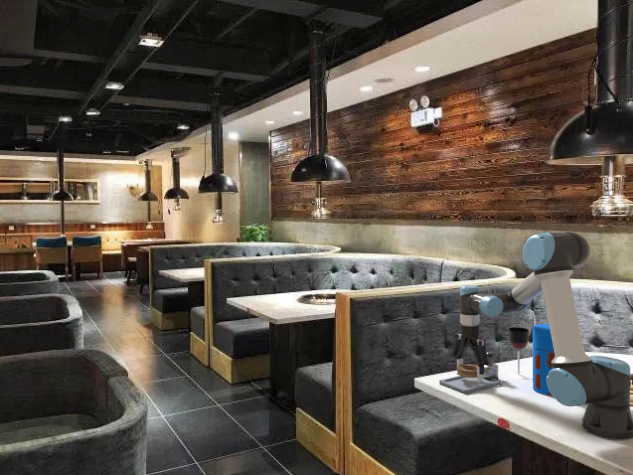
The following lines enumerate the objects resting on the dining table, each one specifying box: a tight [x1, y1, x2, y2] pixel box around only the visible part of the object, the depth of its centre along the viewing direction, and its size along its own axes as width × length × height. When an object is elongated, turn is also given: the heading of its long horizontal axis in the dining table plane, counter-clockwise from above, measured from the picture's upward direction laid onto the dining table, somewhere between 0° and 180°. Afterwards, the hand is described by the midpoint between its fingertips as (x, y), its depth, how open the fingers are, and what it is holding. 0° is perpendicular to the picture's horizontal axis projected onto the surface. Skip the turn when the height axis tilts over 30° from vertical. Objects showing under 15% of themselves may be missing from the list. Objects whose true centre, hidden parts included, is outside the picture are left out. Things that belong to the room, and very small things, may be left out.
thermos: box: [532, 323, 555, 396], centre depth 203 cm, size 11×11×25 cm
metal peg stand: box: [483, 351, 500, 381], centre depth 218 cm, size 7×7×11 cm
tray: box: [438, 375, 502, 395], centre depth 213 cm, size 14×20×2 cm
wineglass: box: [508, 326, 530, 380], centre depth 221 cm, size 8×9×20 cm
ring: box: [456, 363, 478, 378], centre depth 213 cm, size 10×10×2 cm
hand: (469, 378), depth 213 cm, fingers closed on ring, 10 cm apart
